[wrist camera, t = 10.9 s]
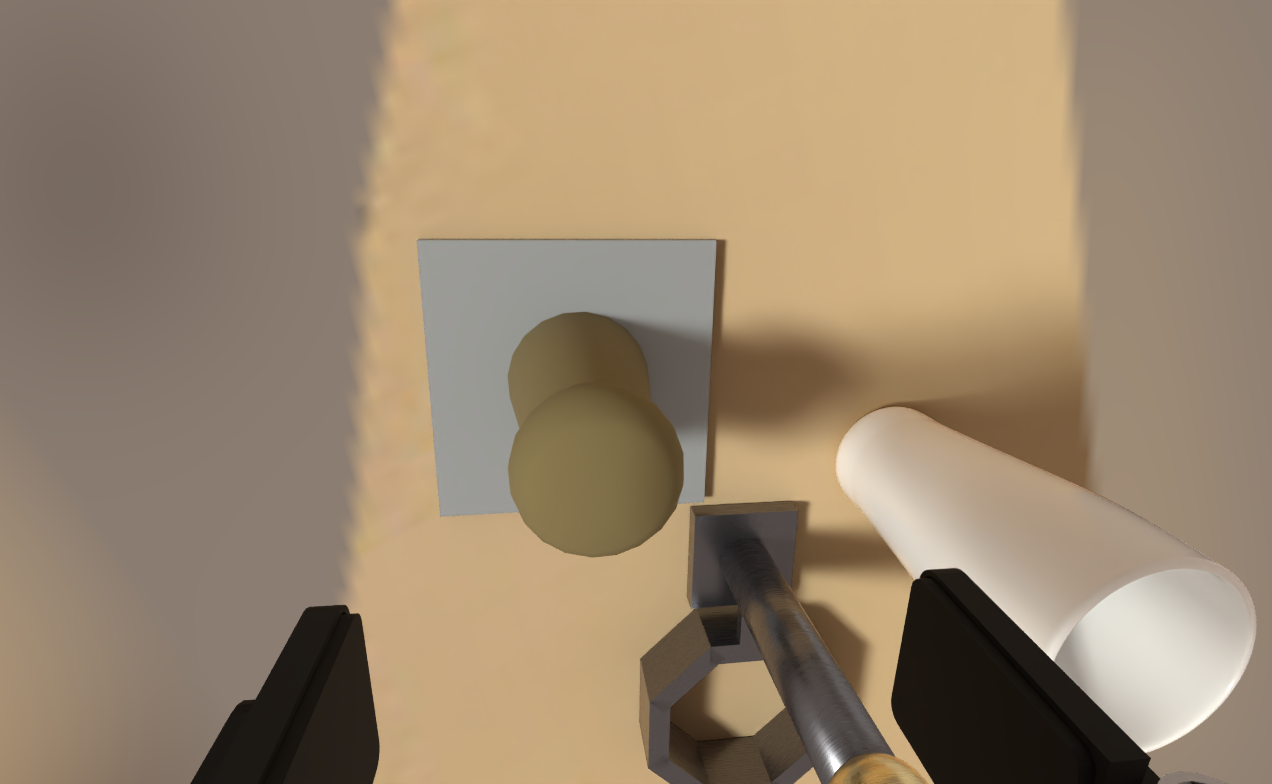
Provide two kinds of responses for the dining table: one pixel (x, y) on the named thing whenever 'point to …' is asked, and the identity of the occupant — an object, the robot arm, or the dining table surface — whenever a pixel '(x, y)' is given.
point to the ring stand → (752, 631)
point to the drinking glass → (1059, 569)
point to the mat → (533, 292)
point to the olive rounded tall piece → (589, 438)
